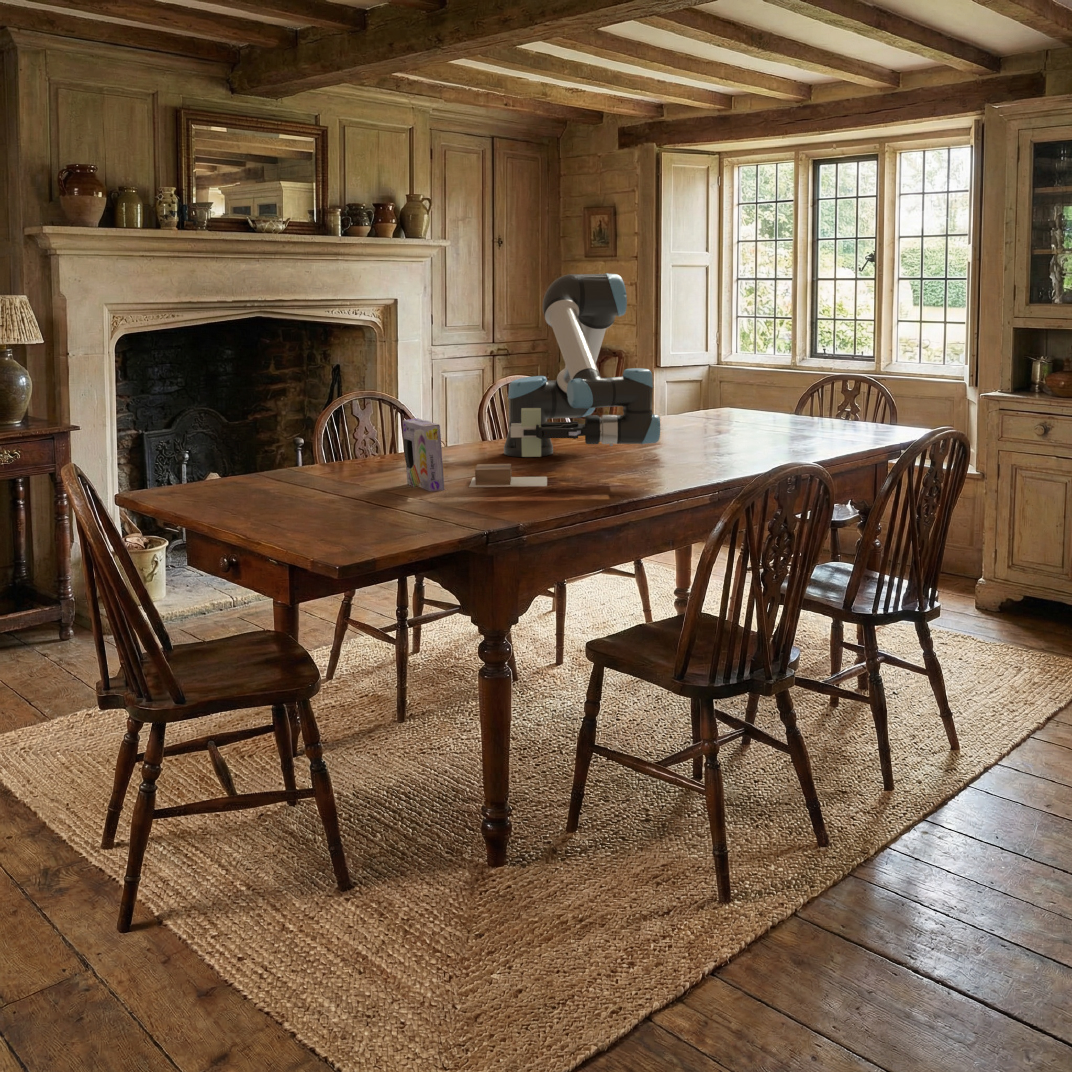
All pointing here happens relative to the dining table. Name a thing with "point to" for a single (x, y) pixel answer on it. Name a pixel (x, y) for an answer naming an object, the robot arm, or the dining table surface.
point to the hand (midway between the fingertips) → (511, 430)
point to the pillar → (531, 444)
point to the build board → (517, 482)
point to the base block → (493, 474)
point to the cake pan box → (423, 454)
